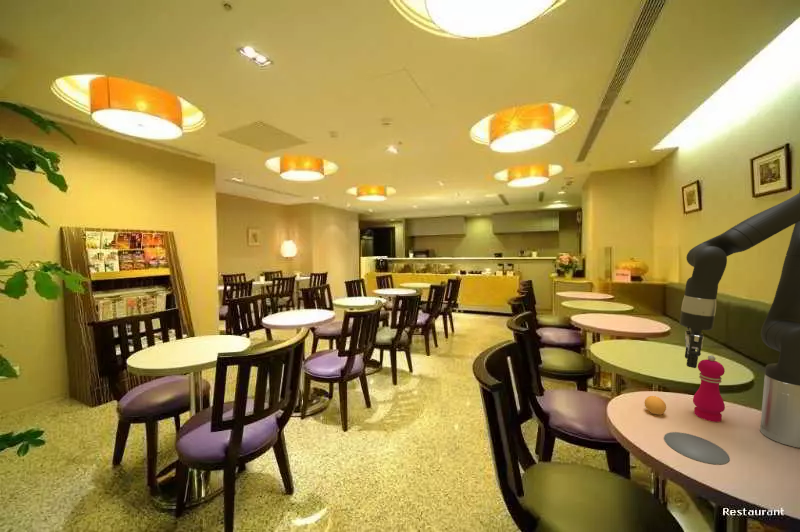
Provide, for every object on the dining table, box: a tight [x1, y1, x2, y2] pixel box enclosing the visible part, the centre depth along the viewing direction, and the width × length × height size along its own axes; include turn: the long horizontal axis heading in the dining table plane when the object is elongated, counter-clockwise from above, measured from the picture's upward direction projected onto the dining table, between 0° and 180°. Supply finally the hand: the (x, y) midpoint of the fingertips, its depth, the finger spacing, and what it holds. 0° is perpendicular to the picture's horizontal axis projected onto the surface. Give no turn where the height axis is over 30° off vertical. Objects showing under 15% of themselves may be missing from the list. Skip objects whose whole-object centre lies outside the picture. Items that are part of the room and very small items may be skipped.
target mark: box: [663, 431, 730, 465], centre depth 86 cm, size 13×13×1 cm
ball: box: [643, 395, 667, 415], centre depth 102 cm, size 6×6×6 cm
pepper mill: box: [692, 354, 726, 423], centre depth 99 cm, size 7×7×20 cm
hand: (690, 362), depth 97 cm, fingers open, 8 cm apart
